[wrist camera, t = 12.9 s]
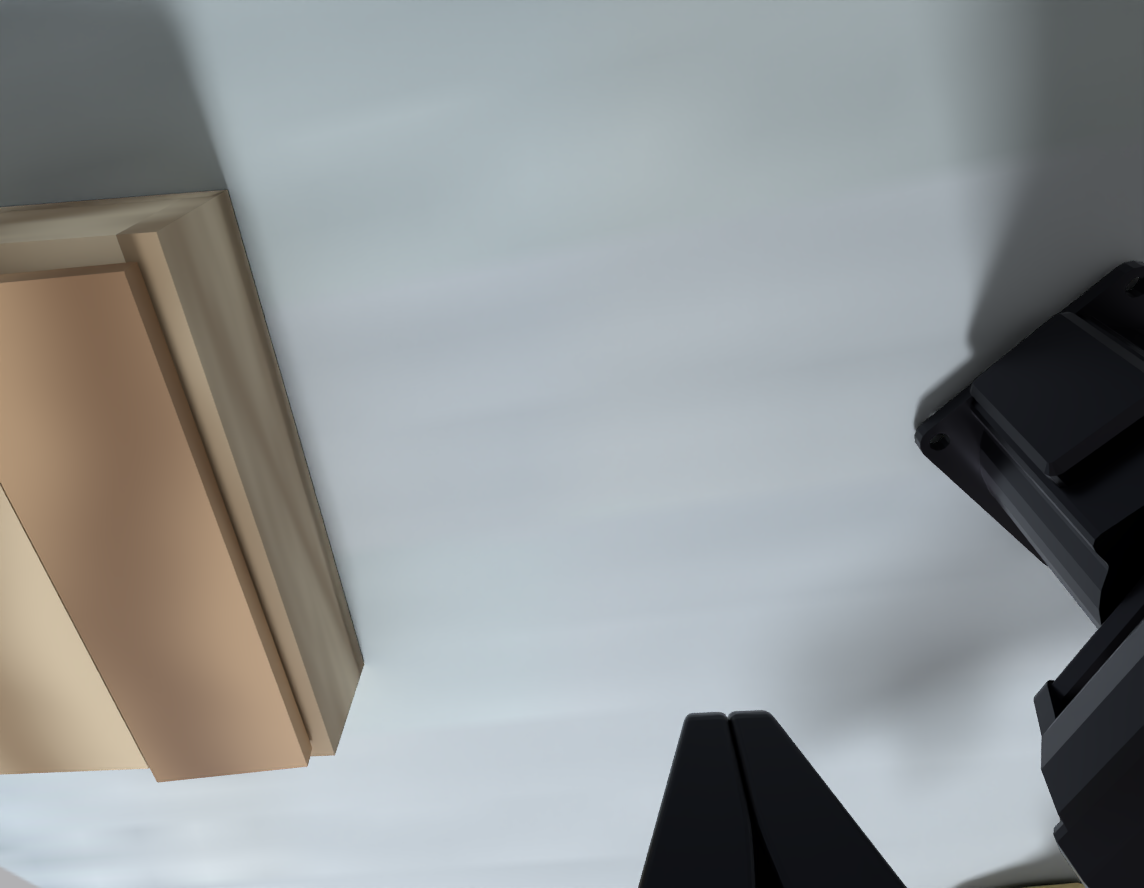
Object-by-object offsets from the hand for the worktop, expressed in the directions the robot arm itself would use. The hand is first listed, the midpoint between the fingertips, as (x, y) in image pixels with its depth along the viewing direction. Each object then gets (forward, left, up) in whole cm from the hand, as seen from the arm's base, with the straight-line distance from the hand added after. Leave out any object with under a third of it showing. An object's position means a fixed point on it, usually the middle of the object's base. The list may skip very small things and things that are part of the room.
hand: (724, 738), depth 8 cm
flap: (+5, +11, -9) cm, 16 cm away
